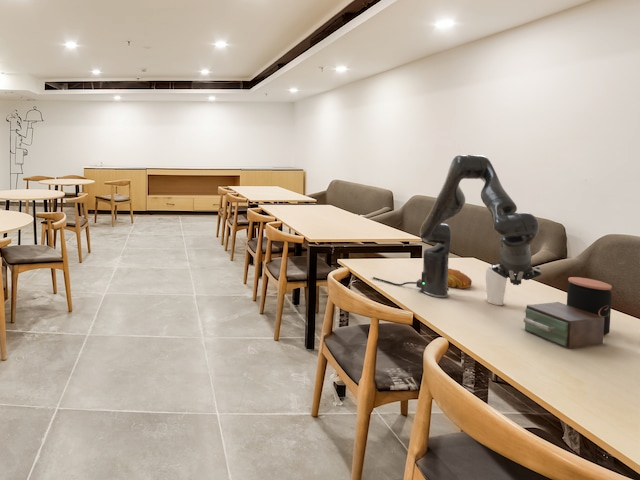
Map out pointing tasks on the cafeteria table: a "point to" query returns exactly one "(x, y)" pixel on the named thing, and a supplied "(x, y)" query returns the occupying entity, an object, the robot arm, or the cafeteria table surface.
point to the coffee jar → (590, 297)
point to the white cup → (495, 287)
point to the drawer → (546, 326)
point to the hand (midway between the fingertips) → (515, 282)
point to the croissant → (458, 279)
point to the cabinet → (574, 324)
